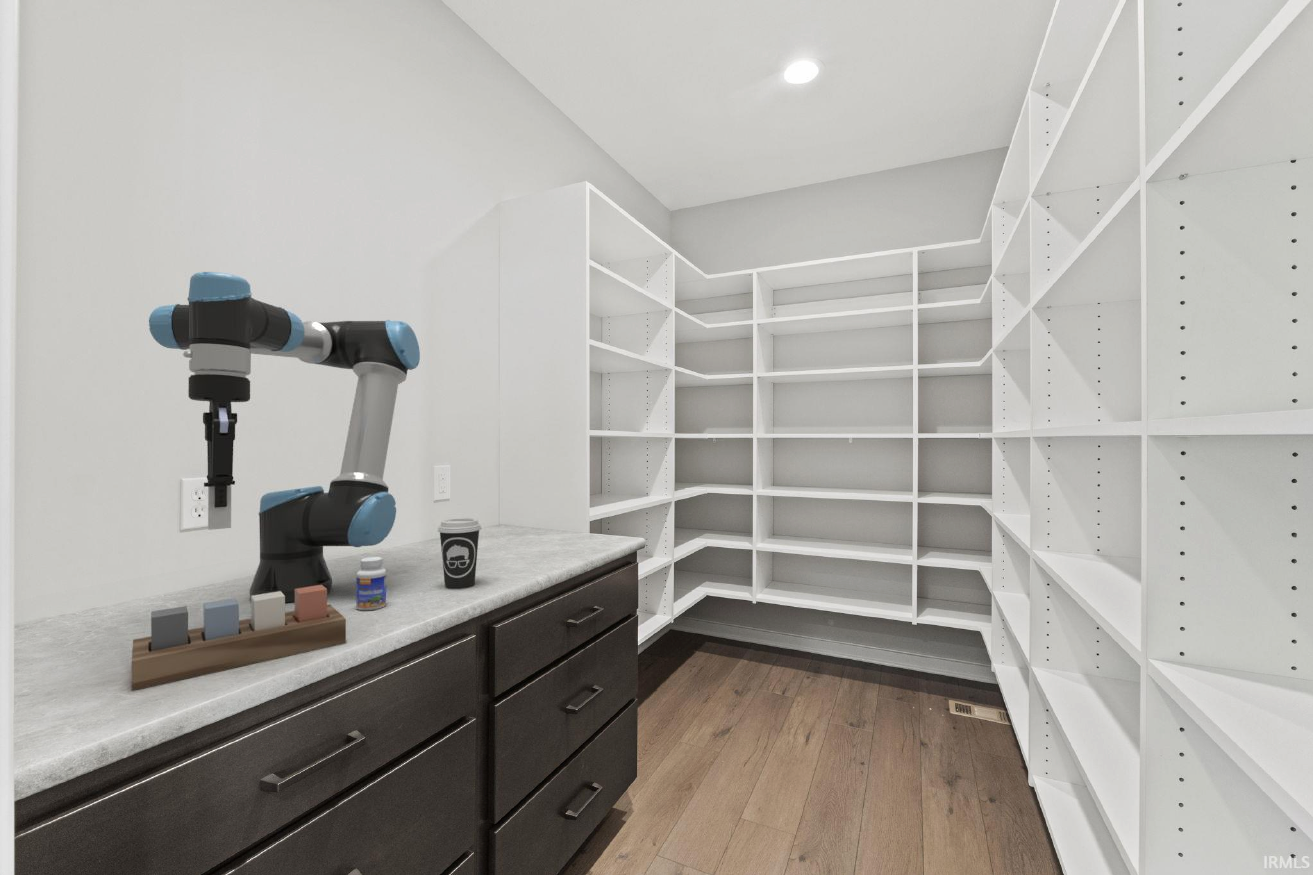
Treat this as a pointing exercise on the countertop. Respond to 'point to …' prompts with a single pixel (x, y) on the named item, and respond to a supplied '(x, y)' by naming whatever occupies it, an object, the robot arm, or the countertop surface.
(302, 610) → the key brick
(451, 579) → the coffee cup
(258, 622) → the key ivory
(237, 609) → the key blue
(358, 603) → the pill bottle
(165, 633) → the key charcoal
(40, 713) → the countertop surface
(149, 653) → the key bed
